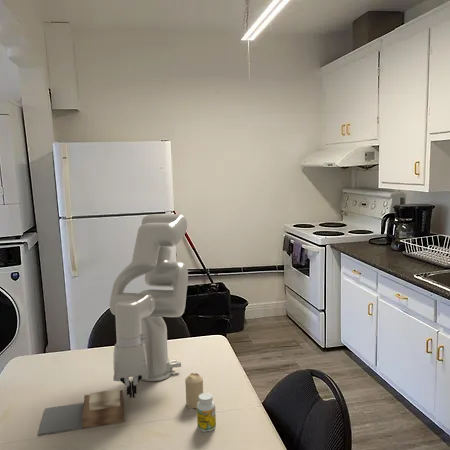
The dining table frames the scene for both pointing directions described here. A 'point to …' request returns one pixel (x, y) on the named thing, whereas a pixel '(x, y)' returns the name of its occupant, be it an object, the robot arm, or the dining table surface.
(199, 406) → the supplement bottle
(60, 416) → the mat
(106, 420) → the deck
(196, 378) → the candle
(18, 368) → the dining table surface
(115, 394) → the tile
